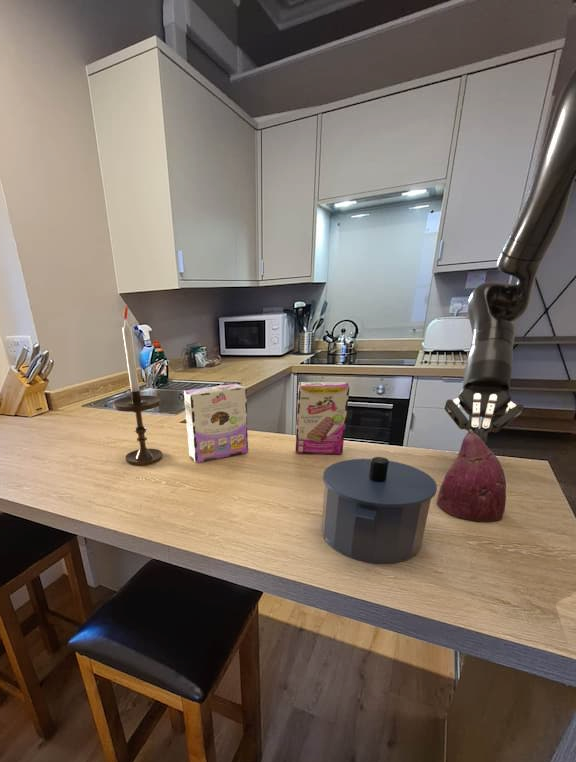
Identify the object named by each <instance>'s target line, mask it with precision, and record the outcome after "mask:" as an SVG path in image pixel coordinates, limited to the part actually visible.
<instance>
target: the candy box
mask: <svg viewBox="0 0 576 762" xmlns="http://www.w3.org/2000/svg"><path fill="white" fill-rule="evenodd" d="M247 400H248V399H247V386H244V385H243V384H239V383H230V384H222V385H216V386H209V387H200V388H194V389H186V390H183V401H184V411H185V425H186V434H187V435H186V436H187V447H188V455H189V457H190V458H191V459H192V461H193V462H194V463H195V464H199V463H203V462H207V461H213V460H214V461H215V460H218V459H223V458H228V457H233V456H238V455H243V454H248V453H249V436H248V433H249V432H248V405H247V404H248V403H247Z"/></svg>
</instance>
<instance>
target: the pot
mask: <svg viewBox="0 0 576 762" xmlns="http://www.w3.org/2000/svg"><path fill="white" fill-rule="evenodd" d="M323 489H324V490H323V499H322V500H323V503H322V515H321V527H320V528H321V535H322V537H323V539H324V541H325V542H326V543H327V545H328V546H329V547H331V548H332V549H333V550H335V551H336V552H338V553H339V554H341V555H343V556H344V557H345V556H346V557H347V558H350V559H353V560H356V561H360V562H364V563H369V564H377V565H378V564H380V565H390V564H398V563H402V562H405V561H409V560H410V559H412V558H414V557H415V556H416V555H417V554H418V553H419V552H420V550H421V548H422V543H423V539H424V533H425V529H426V524H427V519H428V515H429V511H430V505H431V502H432V501H431V500H432V498H431V499H430V500H428V501H427V502H424V503H422V504H418V505H414V506H408V507H379V506H372V505H366V504H361V503H357V502H354V501H351V500H348V499H345V498H343V497H341V496H339V495H337V494H335V493H333V492H332V491H331V490H329V489H328V488H327V487H326V485H325V484H324V488H323Z"/></svg>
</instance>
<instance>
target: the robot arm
mask: <svg viewBox="0 0 576 762" xmlns="http://www.w3.org/2000/svg"><path fill="white" fill-rule="evenodd" d="M575 180H576V67H575V68H574V69H573V70H572V71H571V73H570V74H569V76H568V78H567V79H566V80H565V82H564V84H563V87H562V89H561V91H560V93H559V97H558V100H557V103H556V104H555V108H554V111H553V115H552V117H551V121H550V124H549V128H548V132H547V134H546V137H545V141H544V144H543V147H542V150H541V152H540V156H539V159H538V162H537V165H536V167H535V171H534V173H533V177H532V179H531V183H530V186H529V188H528V191H527V193H526V195H525V199H524V200H523V204H522V206H521V209H520V210H519V214H518V215H517V217H516V219H515V222H514V224H513V226H512V228H511V230H510V233H509V234H508V237H507V239H506V242H505V243H504V245H503V247H502V250H501V252H500V254H499V256H498V258H497V262H496V267H497V269H498V271H500V272H501V273H503V274H505V275H508V276H511V277H514V278H515V279H517V281H516V283H505V282H496V281H495V282H494V281H486V282H483V283H480V284H479V285H477V286H476V287H475V288H474V289H473V291H471V293H470V296H469V298H468V301H467V315H468V319H469V320H468V321H469V324H470V328H471V333H472V337H471V345H470V348H469V349H470V350H469V354H468V356H467V359H466V365H465V368H464V371H465V372H464V377H463V382H462V389H461V391H460V392H459V394H458V395H457V398H453V399H449V398H448V399H447V400H446V401H445V406H444V411H445V412H446V413H447V415H448V416H449V417H450V419H451V420H452V421H453V422H454V424H455V425H456V426H457V427H458V429H460V430H465V431H467V433H468V432H469V430H470V429H471V430H472V431H473V432H474V433H475V434H477V435H478V436H479V437H480V438H481V440H482V441H483V442H484V443H485V445H486V446H487V443H488V435H489V433H498V432H500V431H501V430H502V429H503V428H504V427H506V426H508V424H510V423H512V422H513V421H514V420H516V419H517V418H518V417H519V416H520V415H521V414H522V412H523V410H524V408H525V406H524V405H523V404H521V403H518V404H516V403H515V402H513V401H512V396H511V394H510V384H511V378H512V371H513V364H514V363H513V362H514V342H515V338H516V337H515V335H516V326H515V324H514V323H513V322H515V321H517V320H519V319H520V318H521V317H523V316H524V315H525V313H526V312H527V311H528V308H529V306H530V303H531V298H532V294H533V288H534V284H535V281H536V278H537V274H538V272H539V269H540V266H541V264H542V262H543V260H544V258H545V256H546V255H547V253H548V251H549V249H550V248H551V245H552V244H553V242H554V240H555V238H556V236H557V234H558V232H559V230H560V228H561V226H562V224H563V221H564V219H565V215H566V212H567V208H568V205H569V201H570V197H571V193H572V189H573V187H574V183H575ZM460 407H461V408H462V409H463V411H464V412H465V413H466V414H467V415H468V418H467V416H466V414H464V413H463V411H462V410H461V409H460ZM504 409H505V411H504V414H503V415H502V416H500V417H499V418H498V419H496V420H495V421H494V422H492V420H493V417H495V416H497V415H498V414H500V412H502V411H503V410H504ZM480 418H481V422H480Z"/></svg>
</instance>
